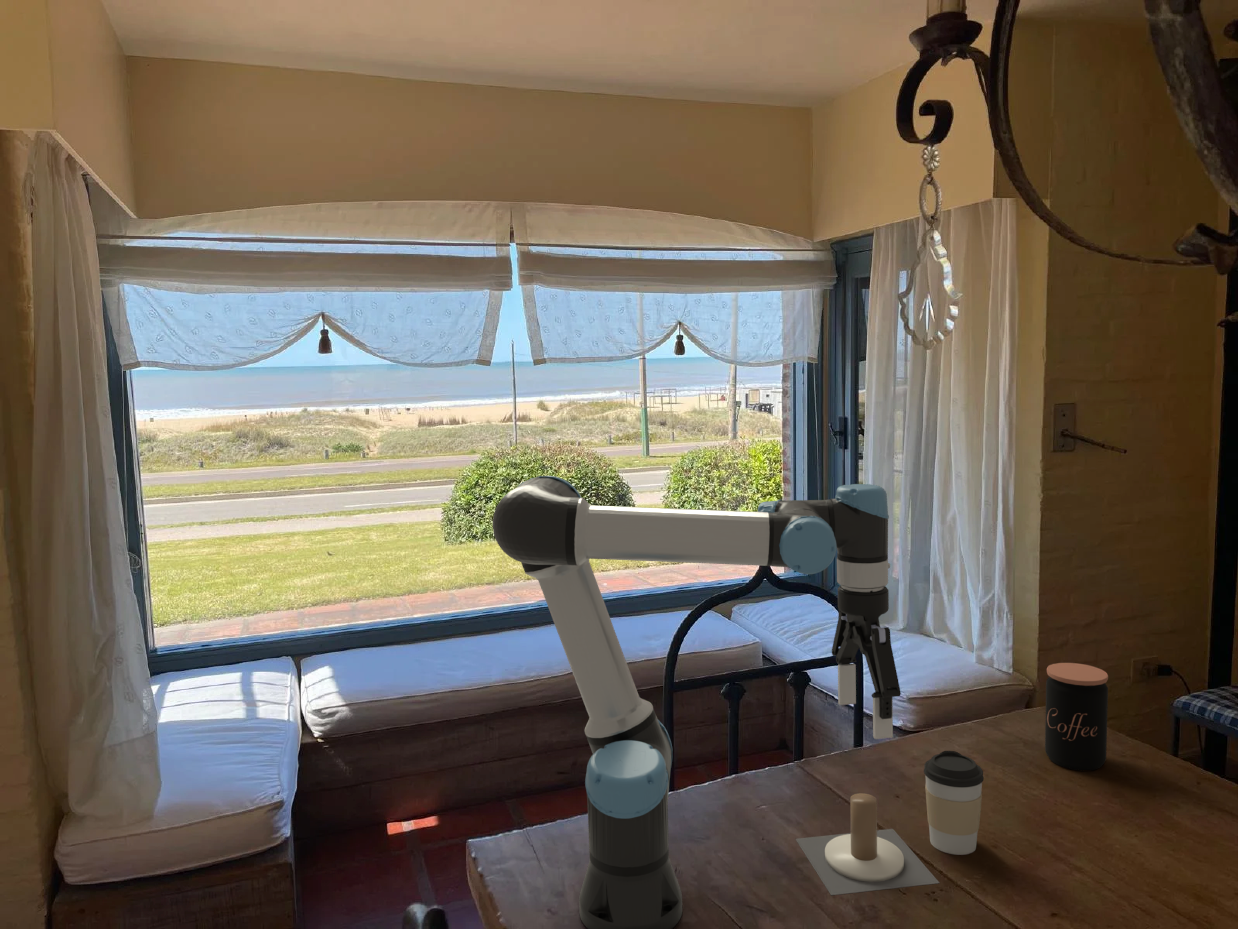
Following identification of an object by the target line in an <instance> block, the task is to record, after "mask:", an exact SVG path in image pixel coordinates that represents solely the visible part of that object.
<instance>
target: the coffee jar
mask: <svg viewBox="0 0 1238 929" xmlns="http://www.w3.org/2000/svg"><path fill="white" fill-rule="evenodd" d="M1046 673H1047V676H1048V677H1047V679H1046V680H1045V681H1046V682H1045V727H1044V728H1045V730H1044V735H1045V736H1044V737H1045V738H1044V751H1045V753H1046V754H1045V755H1046V756H1047V757H1048V758H1049V760H1050V761H1051V762H1052V763H1054V764H1056V765H1057V766H1059V767H1061V768H1065V769H1068V770H1074V771H1080V770H1082V771H1083V770H1092V771H1096V769H1097V770H1098V768H1099V769H1100V767H1101V768H1102V766H1103V765H1104V764H1105V763H1106V761H1107V746H1108V744H1107V742H1108V741H1107V738H1108V707H1109V706H1108V705H1109V704H1108V703H1109V702H1108V701H1109V687H1108V685H1107V684H1106V683H1107V682H1108V680H1109V675H1108V673H1107V672H1106V671H1105V670H1103V669H1101V668H1098V667H1096V666H1093V665H1090V664H1083V663H1075V662H1058V663H1051V664H1049V665H1048V666H1047V668H1046Z"/></svg>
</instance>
